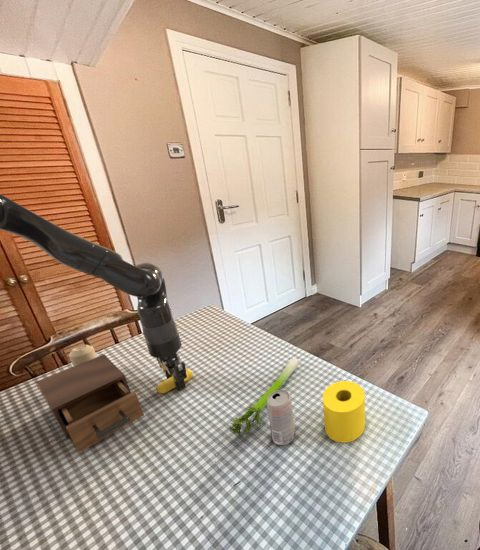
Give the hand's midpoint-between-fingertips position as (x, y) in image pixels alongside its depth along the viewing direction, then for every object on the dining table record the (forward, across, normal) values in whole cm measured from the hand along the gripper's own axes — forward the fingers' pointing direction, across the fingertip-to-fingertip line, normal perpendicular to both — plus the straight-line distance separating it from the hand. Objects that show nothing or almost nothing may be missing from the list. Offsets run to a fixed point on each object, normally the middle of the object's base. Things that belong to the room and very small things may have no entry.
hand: (177, 384), depth 88 cm
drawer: (-1, +1, -17) cm, 17 cm away
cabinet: (0, -11, -17) cm, 20 cm away
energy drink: (+1, +39, +7) cm, 40 cm away
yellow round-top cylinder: (0, 0, 0) cm, 0 cm away
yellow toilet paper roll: (+1, +49, +18) cm, 52 cm away
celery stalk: (+1, +26, +13) cm, 29 cm away
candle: (+1, -27, -13) cm, 30 cm away
